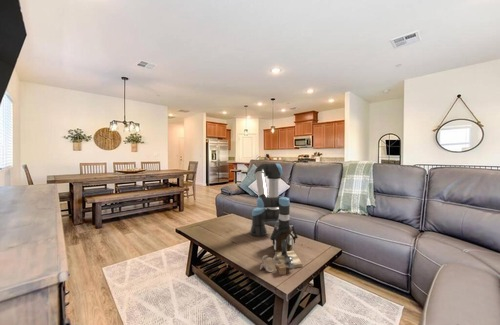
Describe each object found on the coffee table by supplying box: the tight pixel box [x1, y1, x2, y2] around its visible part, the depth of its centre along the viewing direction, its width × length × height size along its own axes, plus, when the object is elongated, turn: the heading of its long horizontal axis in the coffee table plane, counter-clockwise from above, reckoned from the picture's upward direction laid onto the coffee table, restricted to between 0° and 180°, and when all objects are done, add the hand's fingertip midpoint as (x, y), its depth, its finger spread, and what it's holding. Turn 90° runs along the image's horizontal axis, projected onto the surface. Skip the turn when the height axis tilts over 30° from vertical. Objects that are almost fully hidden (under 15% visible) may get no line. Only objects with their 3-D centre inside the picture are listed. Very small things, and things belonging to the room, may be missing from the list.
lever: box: [282, 239, 295, 269], centre depth 147 cm, size 19×4×11 cm, turn 7°
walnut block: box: [275, 263, 287, 276], centre depth 137 cm, size 4×4×4 cm
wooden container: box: [272, 222, 293, 252], centre depth 170 cm, size 15×15×22 cm
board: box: [274, 250, 304, 269], centre depth 151 cm, size 20×14×2 cm
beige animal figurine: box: [259, 254, 280, 273], centre depth 143 cm, size 16×10×10 cm, turn 135°
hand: (283, 248), depth 155 cm, fingers open, 12 cm apart
